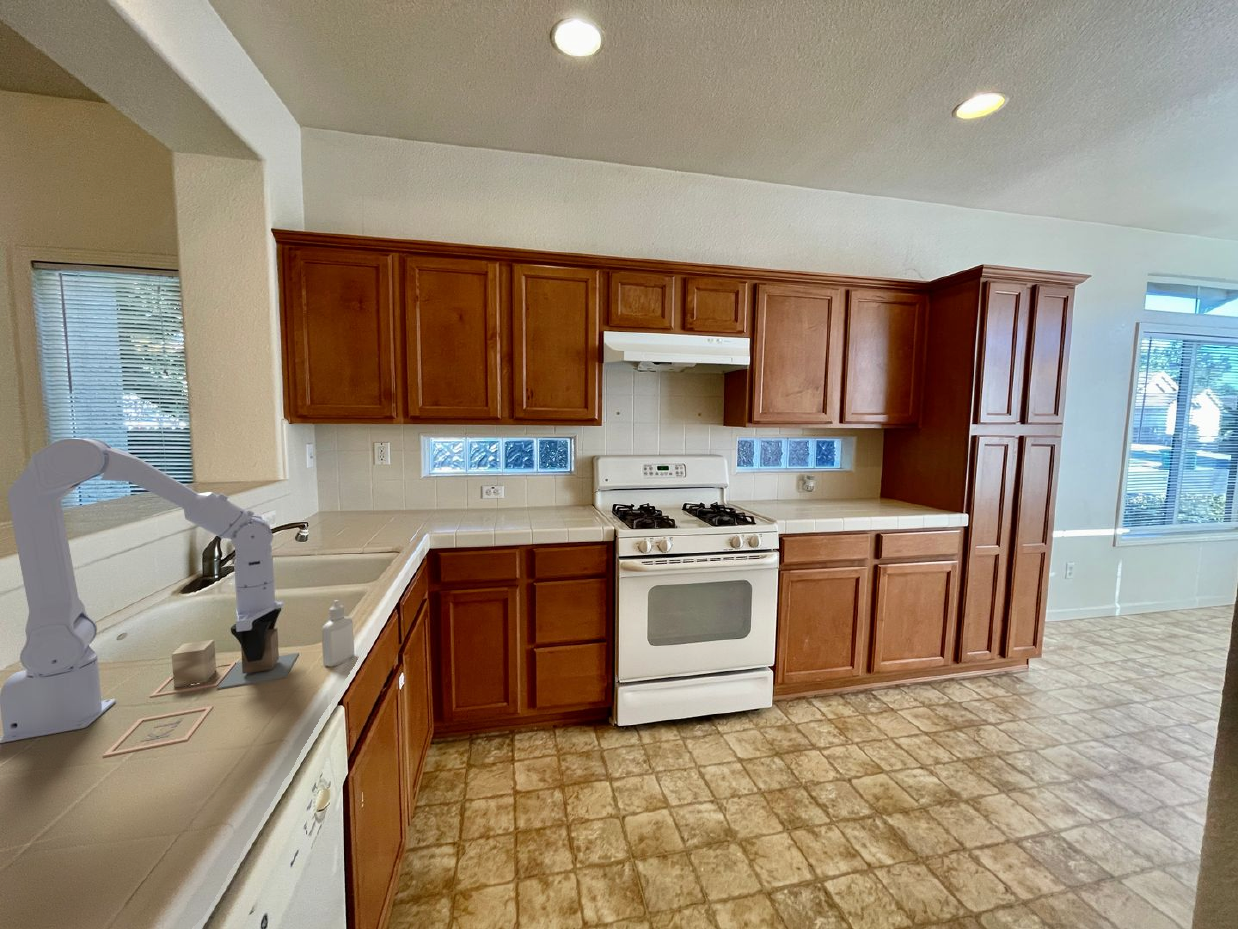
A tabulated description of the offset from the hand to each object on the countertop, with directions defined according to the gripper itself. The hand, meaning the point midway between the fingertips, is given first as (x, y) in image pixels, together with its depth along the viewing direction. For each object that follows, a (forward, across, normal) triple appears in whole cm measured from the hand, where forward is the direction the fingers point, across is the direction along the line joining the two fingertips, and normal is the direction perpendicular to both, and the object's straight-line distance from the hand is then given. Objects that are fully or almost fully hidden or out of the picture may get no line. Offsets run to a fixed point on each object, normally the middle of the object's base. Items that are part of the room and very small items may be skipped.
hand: (259, 654), depth 89 cm
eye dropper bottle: (+3, -1, -13) cm, 14 cm away
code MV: (+3, +1, +10) cm, 11 cm away
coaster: (+3, 0, 0) cm, 3 cm away
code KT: (+3, -16, +8) cm, 18 cm away
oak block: (+3, +1, +10) cm, 11 cm away
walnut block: (+2, 0, 0) cm, 2 cm away
